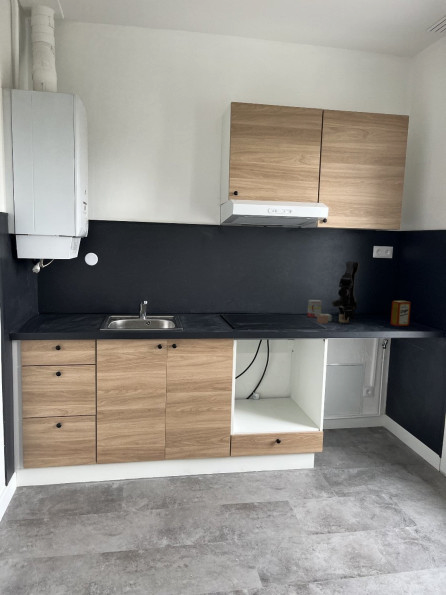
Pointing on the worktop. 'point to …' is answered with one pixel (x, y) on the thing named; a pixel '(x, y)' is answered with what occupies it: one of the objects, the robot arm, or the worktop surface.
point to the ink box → (314, 308)
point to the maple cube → (343, 318)
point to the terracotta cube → (322, 318)
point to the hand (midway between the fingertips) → (343, 318)
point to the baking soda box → (400, 313)
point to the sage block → (328, 316)
